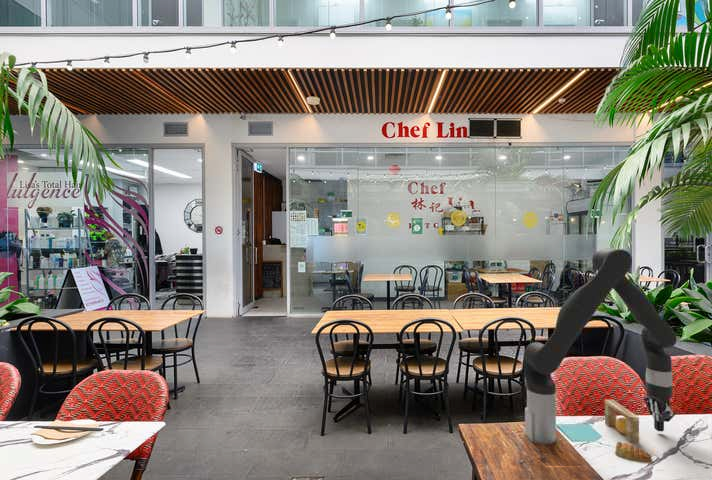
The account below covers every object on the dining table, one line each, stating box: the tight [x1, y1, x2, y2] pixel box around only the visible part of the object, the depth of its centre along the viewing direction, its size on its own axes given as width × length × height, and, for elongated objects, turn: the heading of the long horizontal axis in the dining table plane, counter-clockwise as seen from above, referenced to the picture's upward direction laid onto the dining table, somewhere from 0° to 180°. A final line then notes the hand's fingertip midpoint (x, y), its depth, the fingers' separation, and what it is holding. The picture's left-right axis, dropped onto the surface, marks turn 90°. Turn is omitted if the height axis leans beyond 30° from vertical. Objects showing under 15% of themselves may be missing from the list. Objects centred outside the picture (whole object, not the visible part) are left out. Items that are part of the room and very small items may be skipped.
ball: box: [615, 417, 626, 435], centre depth 139 cm, size 6×6×6 cm
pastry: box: [614, 441, 653, 463], centre depth 124 cm, size 9×7×4 cm
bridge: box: [604, 399, 640, 444], centre depth 139 cm, size 3×14×9 cm, turn 177°
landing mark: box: [556, 423, 603, 442], centre depth 140 cm, size 12×12×1 cm
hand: (659, 430), depth 138 cm, fingers closed
